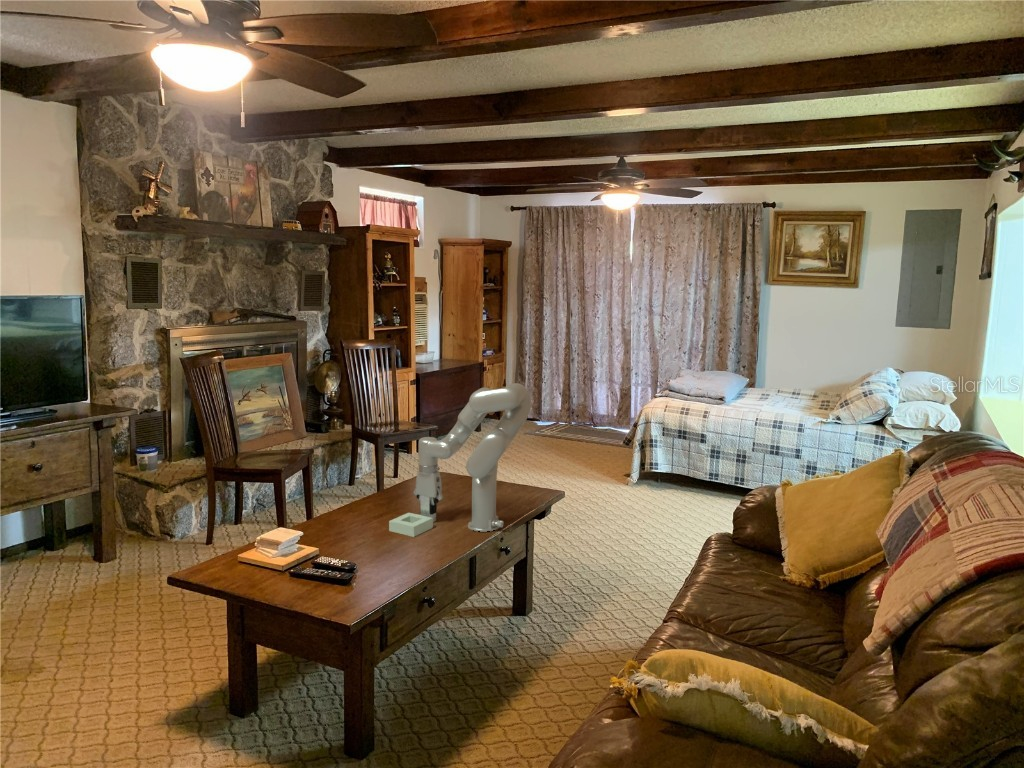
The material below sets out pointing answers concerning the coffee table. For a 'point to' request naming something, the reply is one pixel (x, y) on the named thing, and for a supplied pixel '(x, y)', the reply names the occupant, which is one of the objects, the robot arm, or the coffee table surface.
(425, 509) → the steel bar
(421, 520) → the well block
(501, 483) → the coffee table surface
